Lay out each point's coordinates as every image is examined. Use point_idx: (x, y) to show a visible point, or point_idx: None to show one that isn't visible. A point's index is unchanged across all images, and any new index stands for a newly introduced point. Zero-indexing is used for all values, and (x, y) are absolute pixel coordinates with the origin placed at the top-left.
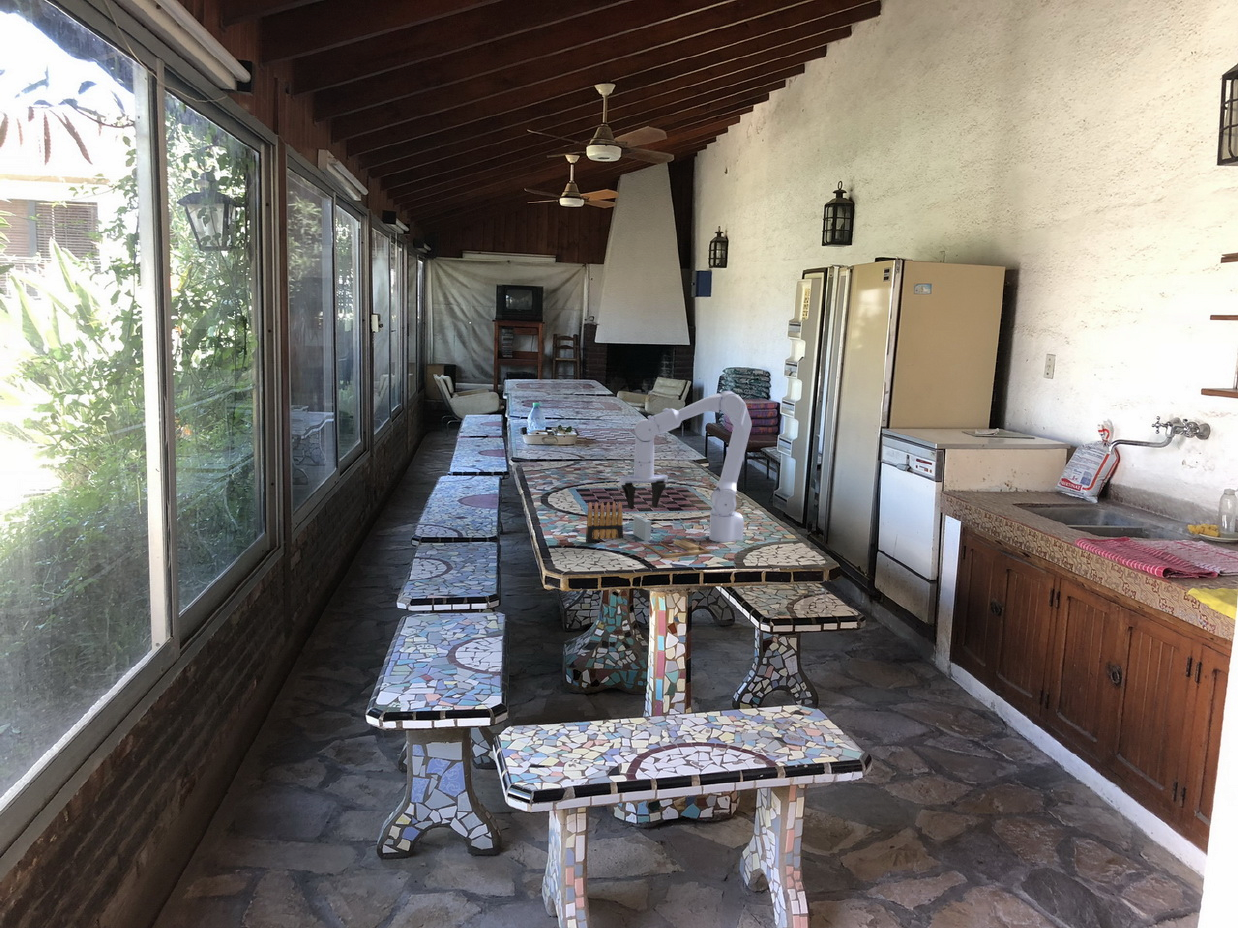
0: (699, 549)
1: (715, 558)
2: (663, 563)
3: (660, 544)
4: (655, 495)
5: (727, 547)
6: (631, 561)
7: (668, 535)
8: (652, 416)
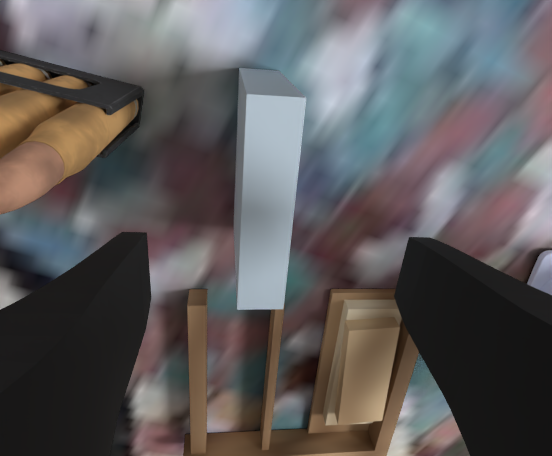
0: None
1: None
2: (181, 447)
3: (274, 317)
4: (464, 375)
5: None
6: None
7: (479, 88)
8: None
